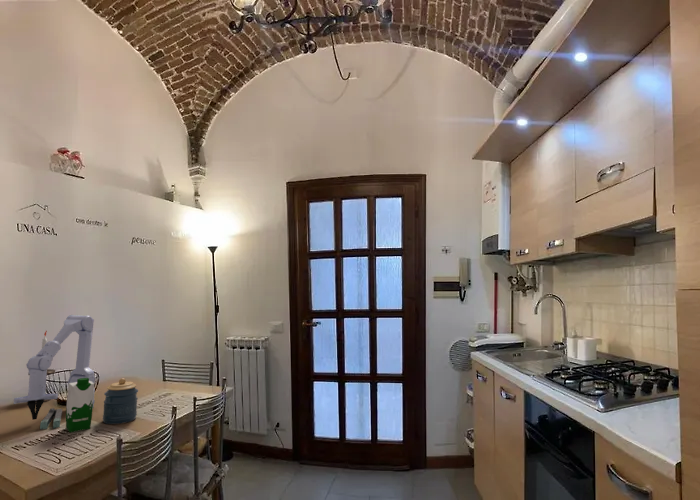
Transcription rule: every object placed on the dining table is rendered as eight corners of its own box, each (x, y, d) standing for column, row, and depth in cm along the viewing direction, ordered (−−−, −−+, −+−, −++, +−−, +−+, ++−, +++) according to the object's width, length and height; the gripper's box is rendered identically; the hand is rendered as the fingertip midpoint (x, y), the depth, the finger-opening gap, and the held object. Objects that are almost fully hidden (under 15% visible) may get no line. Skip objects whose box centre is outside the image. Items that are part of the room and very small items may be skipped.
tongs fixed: (62, 414, 183) (62, 406, 183) (59, 427, 166) (60, 418, 167) (48, 415, 180) (49, 408, 181) (44, 429, 164) (45, 420, 164)
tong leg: (54, 417, 178) (54, 411, 179) (46, 428, 164) (47, 422, 164) (47, 418, 177) (48, 411, 178) (39, 429, 163) (40, 422, 163)
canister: (98, 419, 177) (101, 378, 178) (130, 413, 186) (132, 373, 188) (107, 427, 168) (111, 383, 169) (141, 420, 177) (143, 378, 179)
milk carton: (67, 433, 159) (71, 381, 161) (62, 428, 166) (66, 377, 168) (93, 428, 165) (97, 378, 167) (87, 423, 172) (91, 374, 174)
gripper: (13, 389, 163) (10, 424, 162) (58, 385, 171) (55, 418, 169) (16, 385, 169) (13, 419, 167) (59, 381, 176) (56, 414, 175)
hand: (34, 418), depth 169 cm, fingers closed
